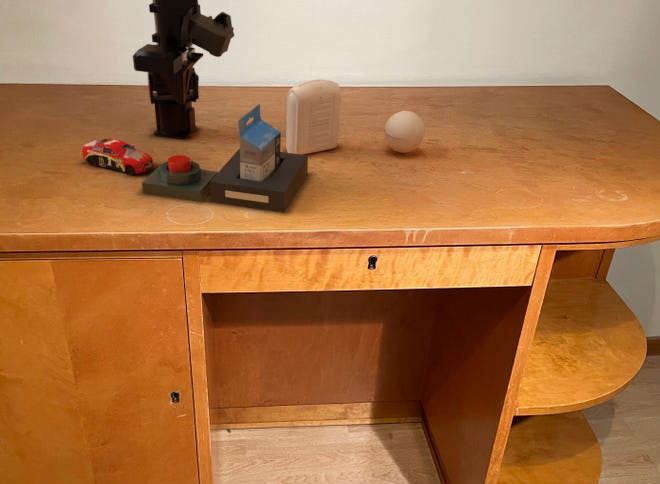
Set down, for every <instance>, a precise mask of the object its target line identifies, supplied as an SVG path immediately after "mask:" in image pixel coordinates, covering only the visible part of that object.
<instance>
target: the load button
mask: <svg viewBox="0 0 660 484" xmlns="http://www.w3.org/2000/svg"><path fill="white" fill-rule="evenodd" d="M191 161H192V160H191V158H190V157H189V156H188V155H183V154H177V155H172V156H169V157H168V158H167V162H168V169H169V171H170V172H174V173H185V172H188V171H191Z"/></svg>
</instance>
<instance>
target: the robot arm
mask: <svg viewBox="0 0 660 484" xmlns="http://www.w3.org/2000/svg"><path fill="white" fill-rule="evenodd" d="M148 9H149V13H153V20H154V29H155V32H154V33H153V34H151V42H152V43H153V44H152V43H147V44H145V45H143V46H142V47H140V48H138V50H136V51H135V53H134V54H133V55H132V63H133V70H134V71H136V72H142V73H146V74H147V87H148V97H149V100H150V105H154V115H155V125H156V129H155V130H154V131H153V133H152V134H153V136H158V137H165V138H173V139H181V140H185V139H187V138H188V137H189V136H190V135H192V133H193V132H194V131H196V129H197V128H198V126H197V124H196V111H195V107H194V106H193V103H197V100H199V99H200V95H199V94H200V93H199V87H200V86H199V84H200V81H199V80H200V77H199V75H198V73H197V72H196V70H195V67H194V66H195V65H196V64H197V63H198V62H199V60H201V59H202V58H203V57H204V53H202V52H196V48H195V47H193V45H194V46H196V47H197V48H200V49H202V50H204V51H205V52H208V53H209V55H211V56H213V57H216V58H220V57H222V56H223V54H224V53H227V52H228V51H229V46H230V43H231V40H232V39H233V38H234V37H235V31H234V30H235V27H233V23H232V17H231V15H230V14H228V13H227V12H225V11H221V12H219V13H218V14H217V15H216V16H215V17H214V18H213V16H212V15H209V16H207V15H205V14H203V13H201V5H200V4H199V0H152V2H151V3H149V4H148ZM155 43H156V44H155Z"/></svg>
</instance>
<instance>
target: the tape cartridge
mask: <svg viewBox="0 0 660 484" xmlns="http://www.w3.org/2000/svg"><path fill="white" fill-rule="evenodd" d="M250 119H252V121H251V122H249V121H250ZM248 122H249V123H248ZM237 123H238V133H239V148H240V179H244V180H252V181H259V182H266V183H268V182H269V180H270V179H271V177H272V176H273V175H274V173H275V172H276V170H277V169H278V168H279V166H280V152H281V142H282V141H281V135H282V132H281V131H280V130H278V129H277V128H275V127H274V126H272V125H271V124H269V123H267V122H266V121H264V120H263V119H262V118H261V104H260V103H258V104H256V106H255V107H253V108H252V109H250V110H249V111H248V112H247V113H245V114H244V115H243V116H242V117H241V118H240V119H238V120H237ZM247 123H248V124H247Z"/></svg>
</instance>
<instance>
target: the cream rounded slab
mask: <svg viewBox="0 0 660 484" xmlns="http://www.w3.org/2000/svg"><path fill="white" fill-rule="evenodd" d="M341 100H342V92H341V87H340V85H339V83H337V82H335V81H332V80H330V79H323V78H319V79H318V78H317V79H311V80H306V81H304V82H300V83H299V84H296V85H294V86H293V87H291V88H290V89H289V90H288V91H287V95H286V120H285V121H286V122H285V125H286V126H285V148H286V153H293V154H300V155H309V154H311V153H316V152H321V151H327V150H331V149H335V148H337V147H338V142H339V128H340V127H339V126H340V115H341V114H340V113H341Z"/></svg>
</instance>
